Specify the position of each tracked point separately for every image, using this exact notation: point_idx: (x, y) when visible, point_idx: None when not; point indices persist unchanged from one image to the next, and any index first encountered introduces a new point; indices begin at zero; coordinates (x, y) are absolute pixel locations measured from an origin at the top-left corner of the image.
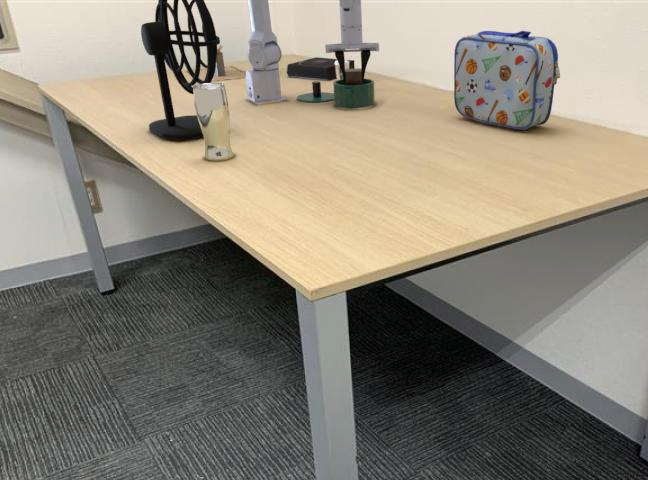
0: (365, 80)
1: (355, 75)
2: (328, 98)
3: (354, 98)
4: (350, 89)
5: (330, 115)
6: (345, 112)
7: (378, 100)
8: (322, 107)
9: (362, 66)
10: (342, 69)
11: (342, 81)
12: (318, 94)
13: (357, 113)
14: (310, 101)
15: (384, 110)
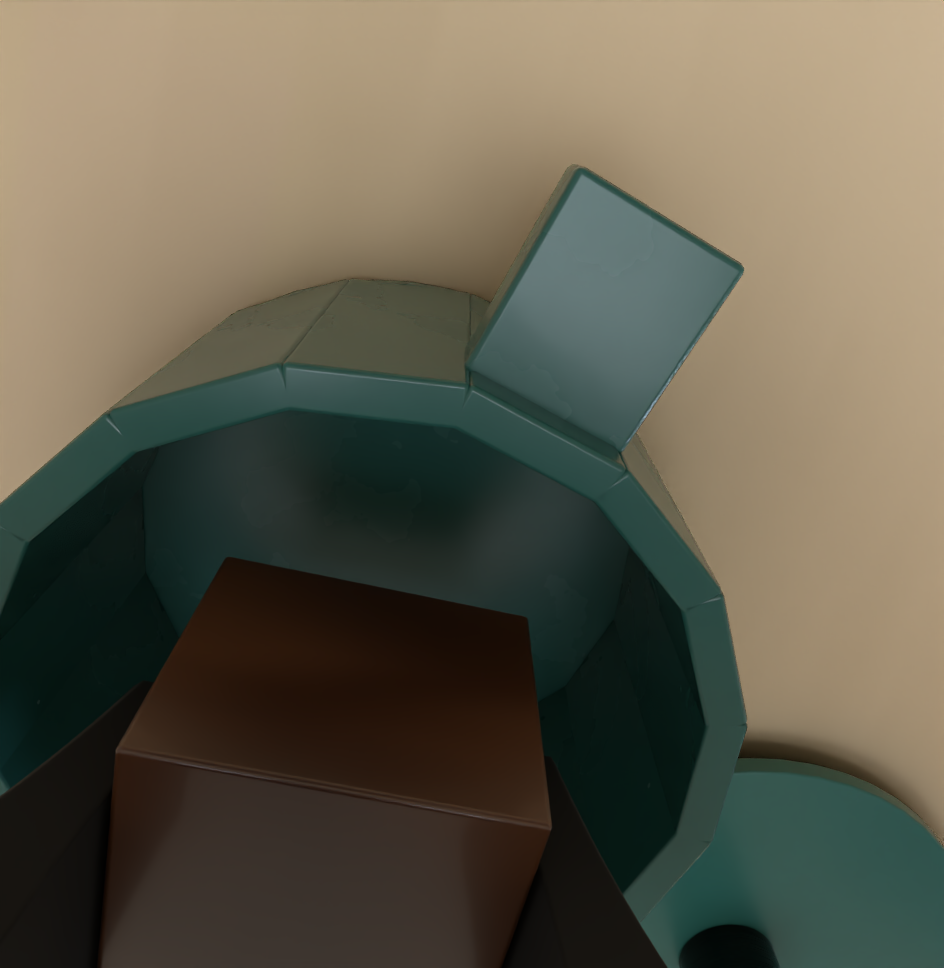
0: None
1: (312, 710)
2: None
3: (449, 323)
4: (546, 296)
5: (902, 90)
6: None
7: None
8: (797, 607)
9: (24, 880)
10: (619, 931)
11: None
12: (735, 950)
13: (474, 51)
14: (885, 796)
15: (18, 86)
